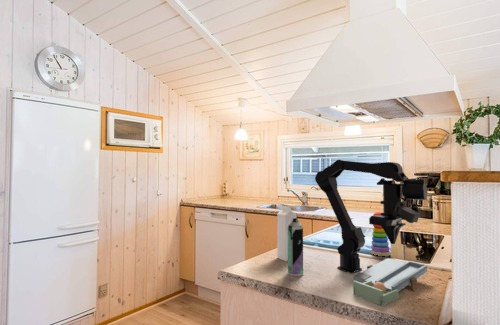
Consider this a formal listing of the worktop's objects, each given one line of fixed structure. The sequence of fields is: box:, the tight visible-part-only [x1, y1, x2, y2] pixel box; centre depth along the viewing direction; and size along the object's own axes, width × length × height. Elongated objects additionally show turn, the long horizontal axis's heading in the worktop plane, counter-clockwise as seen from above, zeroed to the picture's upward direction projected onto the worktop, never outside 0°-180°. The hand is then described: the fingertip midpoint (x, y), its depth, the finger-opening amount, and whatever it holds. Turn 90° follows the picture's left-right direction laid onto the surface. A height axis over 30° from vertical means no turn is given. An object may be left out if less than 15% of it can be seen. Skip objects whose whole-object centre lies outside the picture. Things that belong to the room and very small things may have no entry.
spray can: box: [287, 217, 304, 277], centre depth 109 cm, size 6×6×20 cm
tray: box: [352, 280, 400, 307], centre depth 88 cm, size 9×8×4 cm
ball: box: [373, 282, 387, 294], centre depth 90 cm, size 4×4×4 cm
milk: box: [276, 205, 298, 262], centre depth 127 cm, size 6×6×22 cm
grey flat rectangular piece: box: [353, 257, 428, 292], centre depth 100 cm, size 14×20×2 cm
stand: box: [366, 264, 418, 292], centre depth 100 cm, size 16×2×3 cm, turn 34°
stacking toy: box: [370, 211, 391, 257], centre depth 133 cm, size 8×8×19 cm
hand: (392, 243), depth 103 cm, fingers closed
